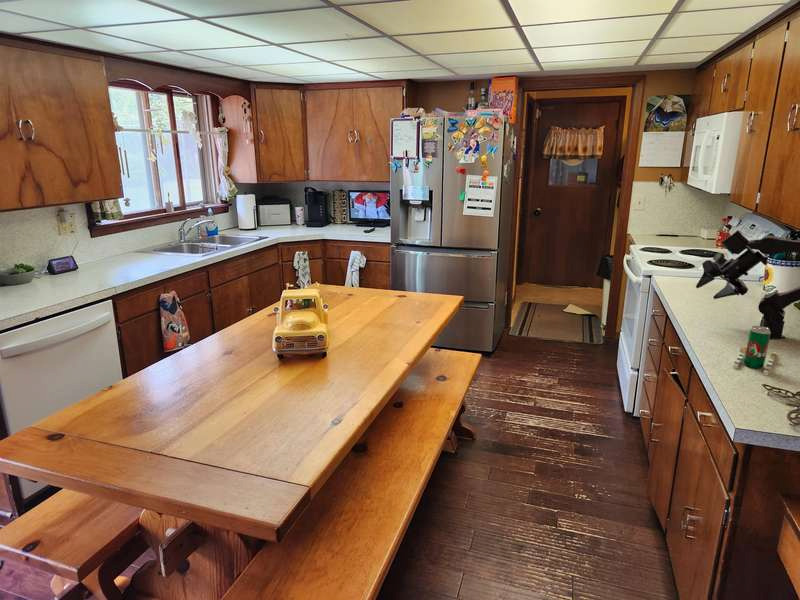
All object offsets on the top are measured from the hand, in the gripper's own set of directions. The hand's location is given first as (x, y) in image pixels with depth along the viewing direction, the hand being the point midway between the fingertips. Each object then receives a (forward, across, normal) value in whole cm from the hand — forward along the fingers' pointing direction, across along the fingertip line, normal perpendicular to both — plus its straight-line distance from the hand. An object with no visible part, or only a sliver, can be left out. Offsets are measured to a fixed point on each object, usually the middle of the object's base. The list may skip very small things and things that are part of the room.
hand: (705, 292), depth 193 cm
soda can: (-3, +6, +42) cm, 43 cm away
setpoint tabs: (-5, +2, +36) cm, 36 cm away
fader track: (-4, +4, +39) cm, 39 cm away
